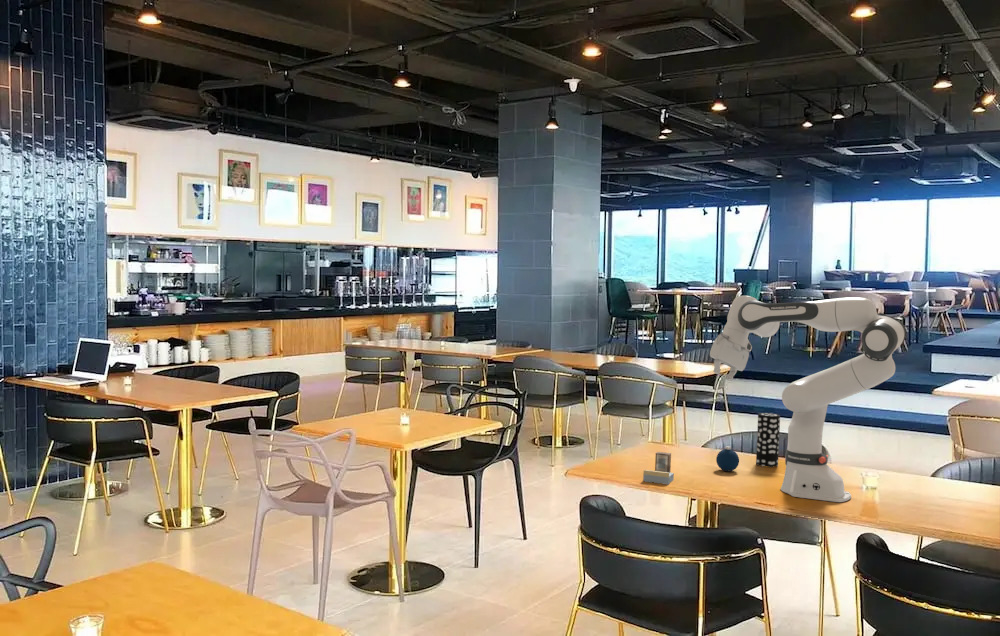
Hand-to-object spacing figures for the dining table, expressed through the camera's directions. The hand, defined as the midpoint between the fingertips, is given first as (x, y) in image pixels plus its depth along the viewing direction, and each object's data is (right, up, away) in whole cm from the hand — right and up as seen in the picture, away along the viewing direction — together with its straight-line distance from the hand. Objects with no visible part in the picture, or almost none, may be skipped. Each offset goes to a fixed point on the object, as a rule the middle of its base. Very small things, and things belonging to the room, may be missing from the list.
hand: (722, 376), depth 297 cm
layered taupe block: (-19, -37, +12) cm, 43 cm away
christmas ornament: (+8, -38, +22) cm, 44 cm away
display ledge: (-22, -37, +3) cm, 44 cm away
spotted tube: (+27, -38, +35) cm, 58 cm away
